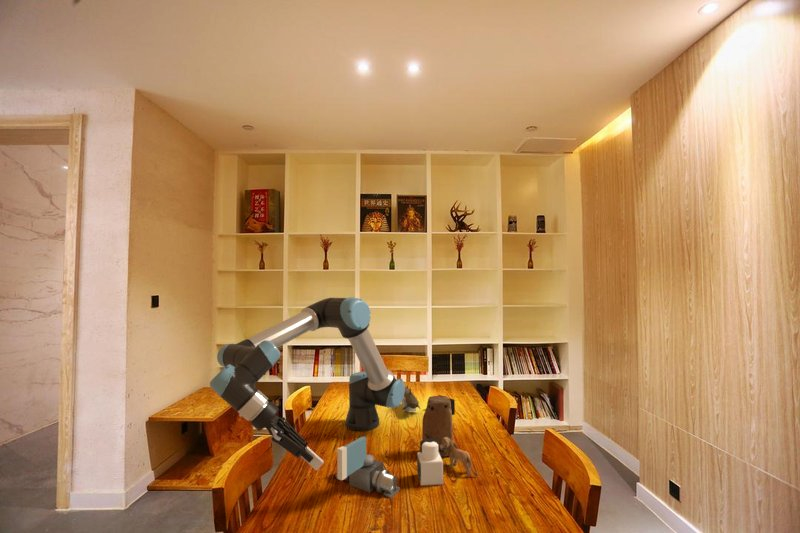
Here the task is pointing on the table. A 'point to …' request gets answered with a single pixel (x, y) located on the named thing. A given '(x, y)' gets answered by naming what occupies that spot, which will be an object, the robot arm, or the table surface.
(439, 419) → the brown rough block
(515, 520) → the table surface
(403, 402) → the wood carving
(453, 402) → the digital camera
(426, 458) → the medicine bottle
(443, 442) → the lion figurine
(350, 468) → the lever
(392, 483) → the valve
